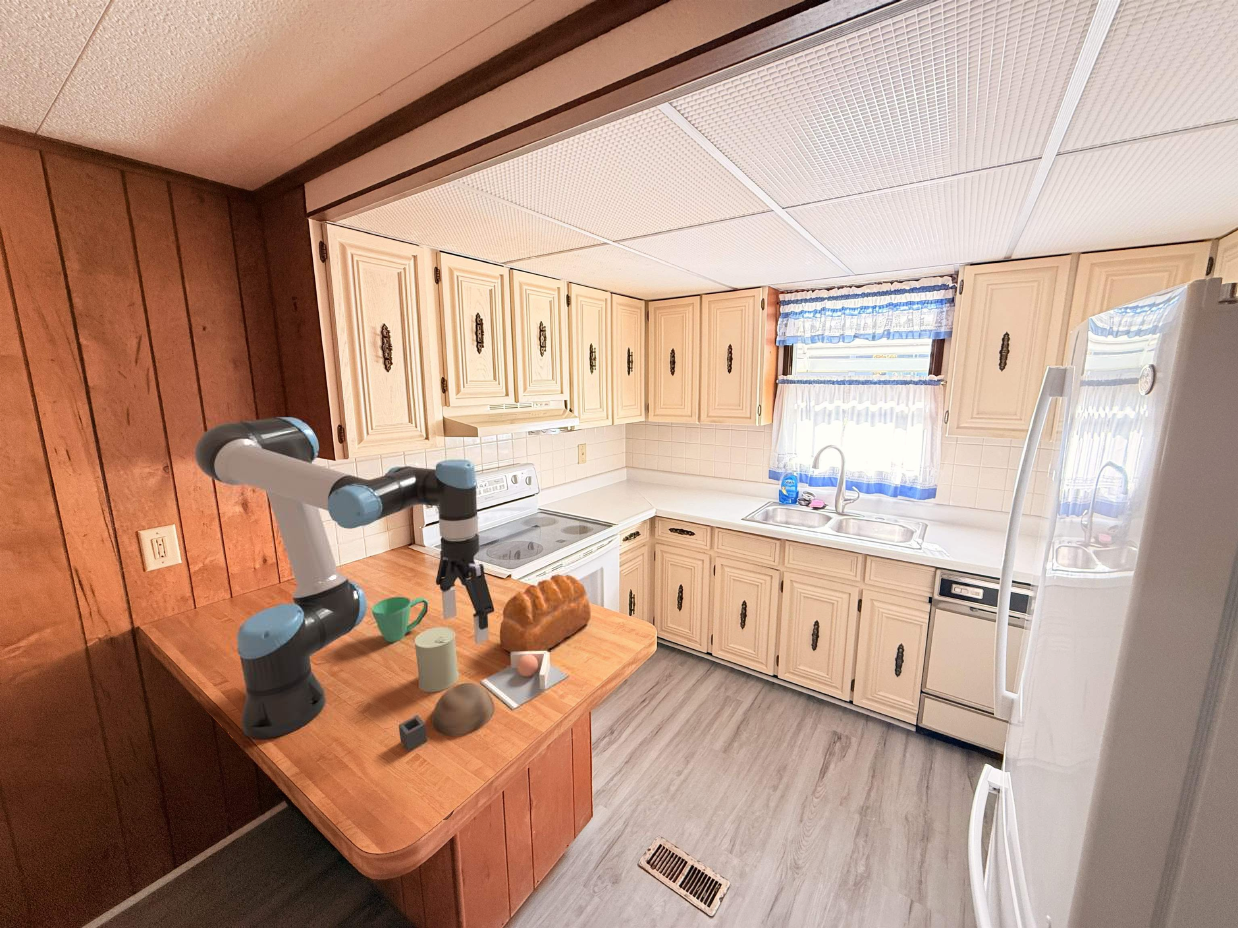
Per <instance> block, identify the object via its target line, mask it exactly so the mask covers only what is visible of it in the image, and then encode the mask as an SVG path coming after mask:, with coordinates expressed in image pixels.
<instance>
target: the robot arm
mask: <svg viewBox="0 0 1238 928" xmlns="http://www.w3.org/2000/svg"><path fill="white" fill-rule="evenodd" d="M319 449H320V447H319V441H318V437H317V436H316V434H315V433H314V431H313V429H312V428H311V427H310V426H309V425H308V424H307V423H306V422H303V421H302V420H301V419H299V418H295V417H290V416H289V417H282V416H281V417H278V416H276V417H270V418H268V417H267V418H261V419H254V420H246V421H245V420H244V421H232V422H225V423H221V424H218V425H216V426H213V427H212V428H210V429H208V430H207V431H206V432H204V433H203V435H202V436H200V438H199V439H198V441H197V443H196V446H195V450H194V457H195V462H196V464H197V466H198V467H199V469H200V470H201V472H203V474H205V475H206V476H208V477H209V478H211V479H213V480H215V481H218V482H220V483H222V484H223V483H224V484H226V485H229V486H235V487H236V486H237V487H238V486H244V485H247V486H250V487H253V488H256V489H258V490H263V491H265V492H266V494H267V498H268V499H269V500H268V501H269V504H270V507H271V510H272V512H273V515H274V519H275V521H276V525H277V528H278V532H279V534H280V537H281V540H282V544H283V546H284V549H285V552H286V556H287V558H288V562H289V565H290V568H291V571H292V574H293V577H294V580H295V583H296V587H295V589H294V591H293V593H292V594H291V596H292V600H293V603H281V604H276V605H275V606H274V607H268V608H265V609H262V610H260V611H259V612H257V613H255V614H253V615H252V616H250V617H249V618H247V620H245V621H244V622H243V623H242V625H240V627H239V629H238V632H237V636H236V639H237V649H236V650H237V653H238V655H239V659H240V664H241V668H242V669H241V671H242V675H243V679H244V685H245V689H246V696H245V701H244V704H243V705H244V706H243V710H242V714H241V719H240V722H241V727H242V732H243V734H244V735H245V736H246V737H248V738H251V739H256V740H264V739H266V740H267V739H272V738H276V737H279V736H284V735H286V734H289V733H292V732H294V731H296V730H298V729H300V728H302V727H303V726H305V725H307V724H308V723H310V722H312V721H313V719H315V718H316V717H317V716H318V715H319V714H320V713H321V712H322V711H323V709H324V707H325V705H326V694H325V689H324V688H323V686H322V685H321V683H320V682H319V680H318V678H317V677H316V676H315V674H314V673H313V671H312V666H311V665H312V664H311V656H313V655H314V654H315V653H317V652H318V651H320V650H322V649H323V648H325V647H327V646H328V645H330V644H331V643H333V642H334V641H336V640H338V639H340V638H341V637H344V636H345V635H347V634H349V633H350V632H351V631H353V629H355V628H356V627H357V626H359V625H360V624H361V623H362V621H363V619H365V618H366V617H365V616H366V614H367V609H368V603H367V597H366V594H365V592H364V591H363V589H362V588H361V587H359V586H360V585H359V584H357V583H356V582H354V581H351V580H349V578H348V576H347V575H345V574H344V573H340V572H339V570H338V568H337V567H338V566H337V564H336V561H335V557H334V555H333V552H332V551H333V550H332V548H331V545H330V542H329V539H328V534H327V532H326V529H325V526H324V522H323V519H322V516H321V513H320V510H319V509H322V510H325V511H327V512H328V515H329V516H330V518H331V519H332V521H334V522H336V524H337V526H339V527H341V528H343V529H350V530H351V529H356V528H360V527H363V526H364V527H365V526H368V525H370V524H373V523H374V522H376V521H378V520H381V519H384V518H385V517H388V516H390V515H393V514H396V513H399V512H401V511H404V510H406V509H410V508H411V507H414V506H417V505H423V506H431V507H433V506H434V507H437V508H438V509H437V510H438V527H439V536H440V537H441V538H440V552H439V554H440V556H439V557H440V559H439V565H438V568H437V569H438V570H437V573H436V579H435V584H436V585H437V586H439V589H440V591H441V598H442V599H441V600H442V601H441V602H442V611H443V612H442V614H443V619H444V620H445V621H446V620H448V619H451V618H453V617H457V601H456V588H454V587H456V584H455V583H456V580H457V579H459V581H460V583H461V585H462V586H464V587H465V590H466V593H467V594H468V597H469V599H470V603H471V605H472V607H473V610H474V612H475V613H473V615H472V616H473V629H474V643H475V644H476V645H480V644H481V643H483V642H486V641H488V640H489V638H490V636H489V614H491V613H494V612H495V608H494V607H495V606H494V604H493V603H494V602H493V600H492V596H491V593H490V590H489V589H490V588H489V587H488V583H487V579H486V576H485V568H484V564H483V563H480V564H476V563H475V562H476V561H475V556H476V555H477V554H478V553H479V552H480V535H479V534H478V532H479V522H478V521H479V516H478V508H477V507H478V506H477V505H478V504H477V483H478V481H477V479H476V470H475V465H474V463H473V462H471V461H470V460H467V459H446V460H442V461H438V462H437V463H436V465H435V469H433V468H424V467H415V466H412V465H411V466H410V465H406V466H394V467H391V468H390V469H389V470H388V471H387V472H386V473H385V474H384V475H381V476H379V477H375V478H372V479H367V478H366V479H365V478H362V477H358V476H355V475H351V474H348V473H345V472H341V471H337V470H336V469H331V468H328V467H325V466H321V465H317V464H316V463H315V464H314V463H313V462H314V461H315V460H316V459H317V458H318V455H319V453H318V452H319V451H320V450H319Z"/></svg>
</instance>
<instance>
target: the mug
mask: <svg viewBox="0 0 1238 928" xmlns="http://www.w3.org/2000/svg"><path fill="white" fill-rule="evenodd" d="M422 603H423V607H422V609H421V611H420V612H419V614H418V616H417V617H416V619H415V620H414V621H412V622H411V623H410V624H409V621H410V612H411V608H412V607H415V606H416V605H418V604H422ZM428 606H429V600H428V599H426V598H424V597H422V596H420V597H418V598H414V599H413V600H410V598H408V597H404V596H393V597H387V598H385V599H381V600H379V601H378V602H376V603H375V604H374V605H372V606H371V607H372V608H371V612H372V613H371V614H372V616H373V618H374V620H375V622H376V625H377V628H378V630H379V632H380V634H381V635H382V637H383V639H385V641H386V642H387V643H388V642H389V643H396V642H399V641H401V640H402V639H403V638H404V637H405V635H406V634H407V633H409V632H410V631H411V630H413V629H414V628H416V627H417V626H418V625H419V624H420V623H421V621H422V620H423V618H425V616H426V614H427V613H428V611H429V610H428V608H429V607H428Z"/></svg>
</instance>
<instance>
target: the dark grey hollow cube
mask: <svg viewBox="0 0 1238 928" xmlns="http://www.w3.org/2000/svg"><path fill="white" fill-rule="evenodd" d="M398 730H399V731H398V732H399V739H400V743H401V744H402V745H403V747H404V749H406V751H408V753H409V752H411V751H413V750H415V749H416V748H418V747H420V746H422V745H423V744H425V743H427V742H428V736H427V735H428V734H427V726H426V723H425V722H424V721H423V720H422V718H421V717H420V716H419V715H418V714H416V715H414V716H413V717H411V718H409V719H407V720H405V721H403V722H401V723H400V724H398Z"/></svg>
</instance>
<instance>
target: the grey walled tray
mask: <svg viewBox="0 0 1238 928" xmlns="http://www.w3.org/2000/svg"><path fill="white" fill-rule="evenodd" d="M528 654H529V655H532V656H534V657H535V658H536V659H537V662H538V668H537V670H536V672H535V673H534V674H533V675H531V676H528V677H525V676H522V675H521V674H520V673H519V672H518V669H517V663H518V661H519V659H520V658H521V657H522V656H524V655H528ZM550 659H551V657H550V651H548V650H547V651H519V652H510V665H509V666H507V667H506V668H503V669H501V670H499V671H497V672H496V673H494V674H491V675H490V676H488V677H486V678H484V679H483V680H480V681H479V683H480V684H481V685H483V687H484V688H485V689H486V690H488V691H490V692H491V693H492V694H493V695H494V696H496V697H497V698H498V699H499V700H500V701H501V702H503V703H504V704H505V705H506V706H508V707H509V708H510V709H511V710H513V711H514V710H516V709H517V708H519V707H520V706H522V705H524V704H526V703H527V702H529V701H531V700H532V699H535V697H537V696H538V695H540V694H542V693H544V692H546V691H547V690H549V689H550V688H552V687H554V686H555V685H557V684H559V683H560V682H562V681H564V680H565V679H567V678H569V675H568V674H567V673H565V672H564V671H562V670H561V669H559V668H557V667H556V666H555V665H553V664H552V663H551V660H550Z"/></svg>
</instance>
